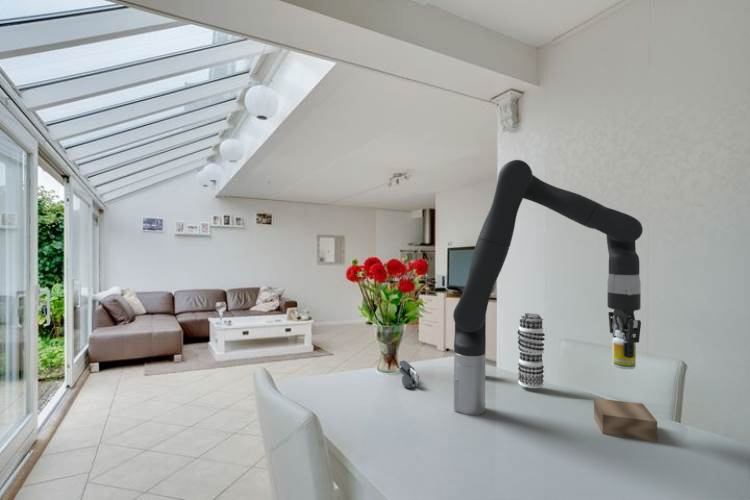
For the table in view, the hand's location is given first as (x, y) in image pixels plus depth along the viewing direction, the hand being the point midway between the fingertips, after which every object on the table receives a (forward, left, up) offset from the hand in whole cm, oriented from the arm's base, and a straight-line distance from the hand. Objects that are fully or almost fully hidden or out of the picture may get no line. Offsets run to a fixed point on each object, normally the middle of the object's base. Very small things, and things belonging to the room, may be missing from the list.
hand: (623, 353), depth 106 cm
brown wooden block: (0, 0, -21) cm, 21 cm away
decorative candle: (-17, +33, -21) cm, 43 cm away
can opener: (-61, +31, -21) cm, 72 cm away
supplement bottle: (0, 0, -4) cm, 4 cm away
